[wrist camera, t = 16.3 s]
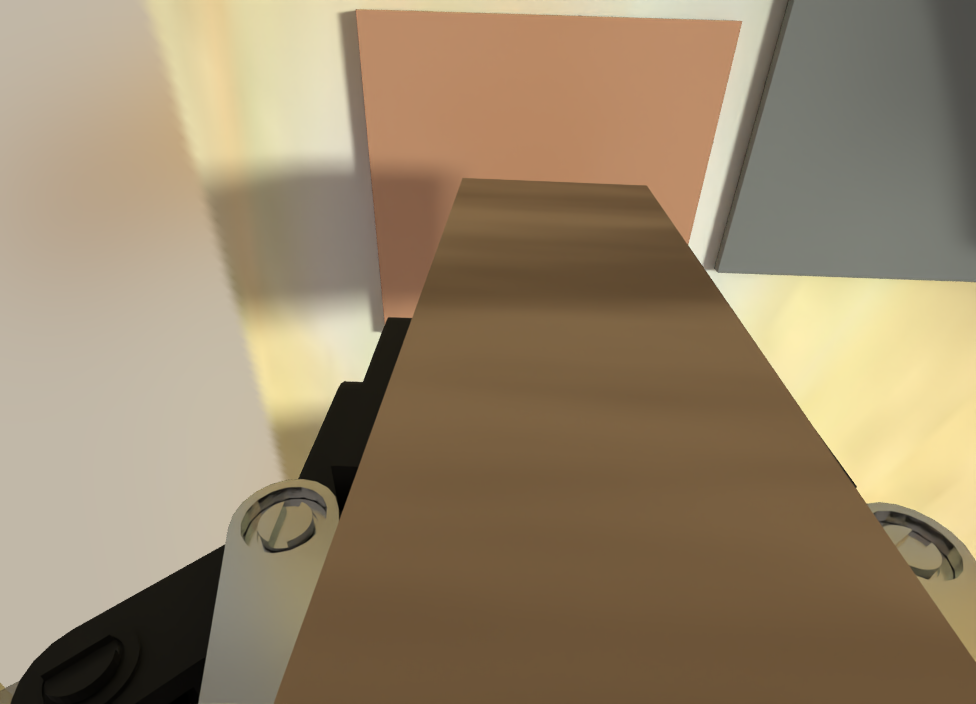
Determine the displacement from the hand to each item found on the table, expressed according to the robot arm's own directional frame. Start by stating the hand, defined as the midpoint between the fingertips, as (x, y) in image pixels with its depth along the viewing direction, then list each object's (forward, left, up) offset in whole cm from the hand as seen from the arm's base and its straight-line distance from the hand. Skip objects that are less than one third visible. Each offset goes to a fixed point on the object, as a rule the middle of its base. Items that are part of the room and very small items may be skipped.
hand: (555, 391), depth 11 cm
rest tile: (0, 0, -12) cm, 12 cm away
